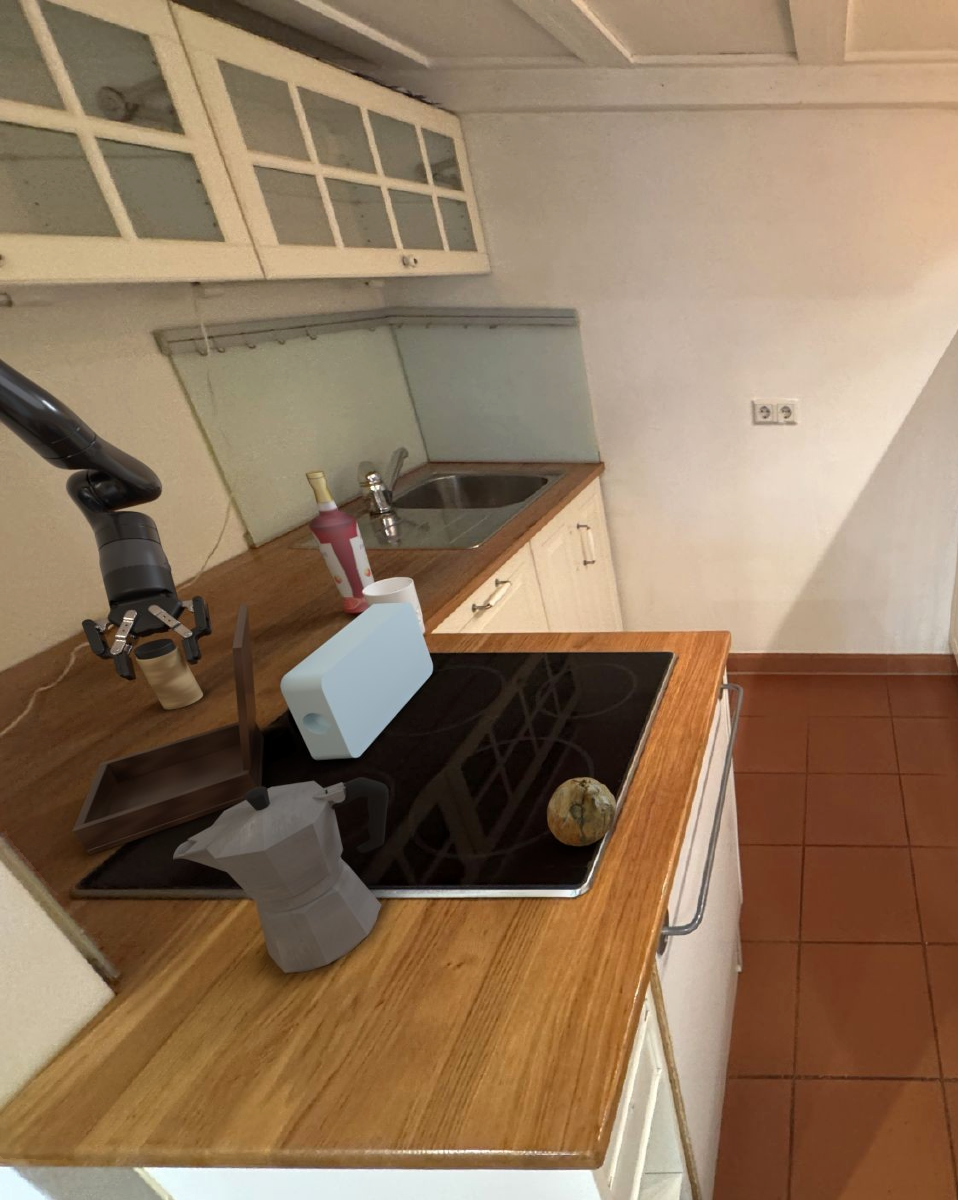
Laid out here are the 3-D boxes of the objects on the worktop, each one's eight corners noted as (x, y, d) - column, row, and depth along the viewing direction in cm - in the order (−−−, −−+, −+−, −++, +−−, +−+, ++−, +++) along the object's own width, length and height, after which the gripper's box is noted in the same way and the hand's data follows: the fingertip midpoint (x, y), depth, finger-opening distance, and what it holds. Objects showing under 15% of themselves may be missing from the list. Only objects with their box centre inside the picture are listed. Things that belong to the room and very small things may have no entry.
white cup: (437, 631, 121) (421, 582, 117) (393, 650, 115) (375, 599, 111) (415, 621, 125) (399, 573, 121) (372, 638, 119) (353, 589, 115)
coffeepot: (239, 1008, 58) (140, 861, 50) (248, 931, 65) (163, 791, 57) (433, 919, 65) (375, 779, 57) (423, 858, 72) (369, 726, 64)
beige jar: (160, 713, 100) (128, 657, 95) (165, 699, 103) (134, 644, 99) (201, 702, 102) (172, 646, 98) (204, 688, 106) (176, 634, 101)
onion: (626, 802, 79) (616, 750, 76) (618, 853, 72) (605, 798, 69) (562, 810, 78) (548, 757, 75) (547, 863, 71) (531, 807, 68)
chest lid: (232, 648, 75) (241, 647, 76) (239, 604, 86) (247, 604, 87) (242, 770, 80) (251, 769, 81) (248, 715, 91) (256, 714, 91)
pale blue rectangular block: (399, 672, 108) (372, 600, 102) (434, 670, 108) (410, 598, 103) (309, 765, 87) (269, 682, 81) (354, 762, 88) (317, 679, 82)
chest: (89, 856, 74) (71, 831, 72) (115, 785, 85) (100, 762, 83) (261, 796, 82) (248, 772, 81) (264, 739, 93) (253, 717, 91)
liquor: (389, 611, 129) (340, 472, 117) (346, 622, 125) (290, 480, 113) (384, 599, 135) (336, 465, 122) (342, 610, 130) (288, 472, 118)
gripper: (59, 577, 95) (82, 679, 92) (188, 553, 103) (214, 647, 99) (86, 597, 101) (109, 694, 98) (206, 573, 109) (231, 662, 105)
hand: (162, 670), depth 98 cm, fingers open, 6 cm apart
